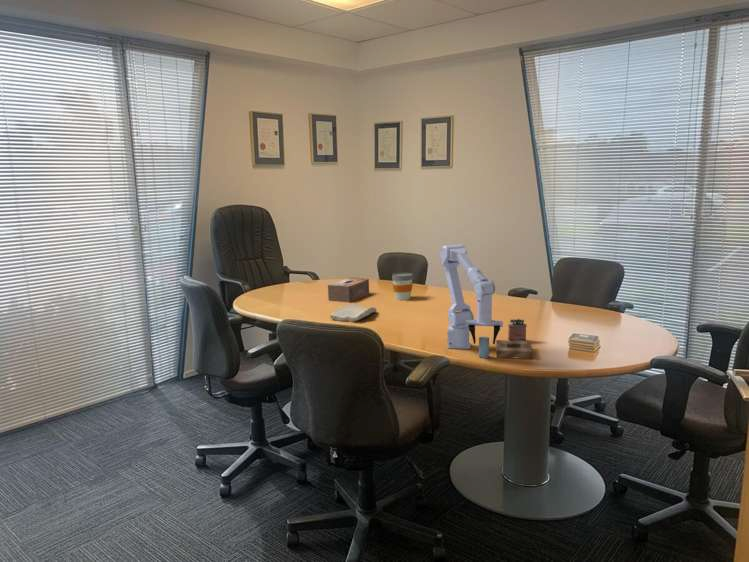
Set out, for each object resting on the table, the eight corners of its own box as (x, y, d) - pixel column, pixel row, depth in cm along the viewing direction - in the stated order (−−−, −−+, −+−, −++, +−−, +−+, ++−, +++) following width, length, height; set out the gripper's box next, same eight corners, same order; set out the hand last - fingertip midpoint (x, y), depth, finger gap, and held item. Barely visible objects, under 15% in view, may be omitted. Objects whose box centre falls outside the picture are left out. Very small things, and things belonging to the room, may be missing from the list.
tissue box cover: (349, 292, 351) (349, 277, 349) (369, 294, 345) (368, 278, 343) (328, 301, 329) (327, 284, 327) (349, 302, 322) (348, 286, 320)
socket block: (496, 357, 218) (496, 350, 218) (496, 346, 232) (496, 340, 231) (532, 358, 215) (532, 351, 215) (530, 348, 229) (530, 341, 228)
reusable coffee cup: (388, 299, 327) (388, 275, 324) (399, 295, 337) (399, 271, 334) (406, 301, 320) (405, 276, 317) (417, 297, 330) (416, 273, 327)
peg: (478, 358, 218) (478, 339, 216) (479, 355, 221) (479, 336, 220) (488, 358, 217) (489, 339, 215) (489, 355, 221) (489, 336, 219)
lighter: (524, 339, 241) (525, 317, 239) (527, 341, 238) (527, 319, 236) (506, 340, 241) (507, 318, 239) (509, 342, 237) (509, 320, 236)
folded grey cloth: (382, 314, 296) (350, 308, 304) (383, 301, 294) (351, 295, 302) (361, 327, 275) (327, 320, 284) (361, 313, 273) (328, 306, 282)
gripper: (465, 312, 213) (465, 345, 216) (503, 313, 210) (502, 346, 213) (466, 308, 220) (466, 340, 222) (502, 309, 217) (502, 341, 219)
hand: (484, 343), depth 218 cm, fingers open, 7 cm apart
